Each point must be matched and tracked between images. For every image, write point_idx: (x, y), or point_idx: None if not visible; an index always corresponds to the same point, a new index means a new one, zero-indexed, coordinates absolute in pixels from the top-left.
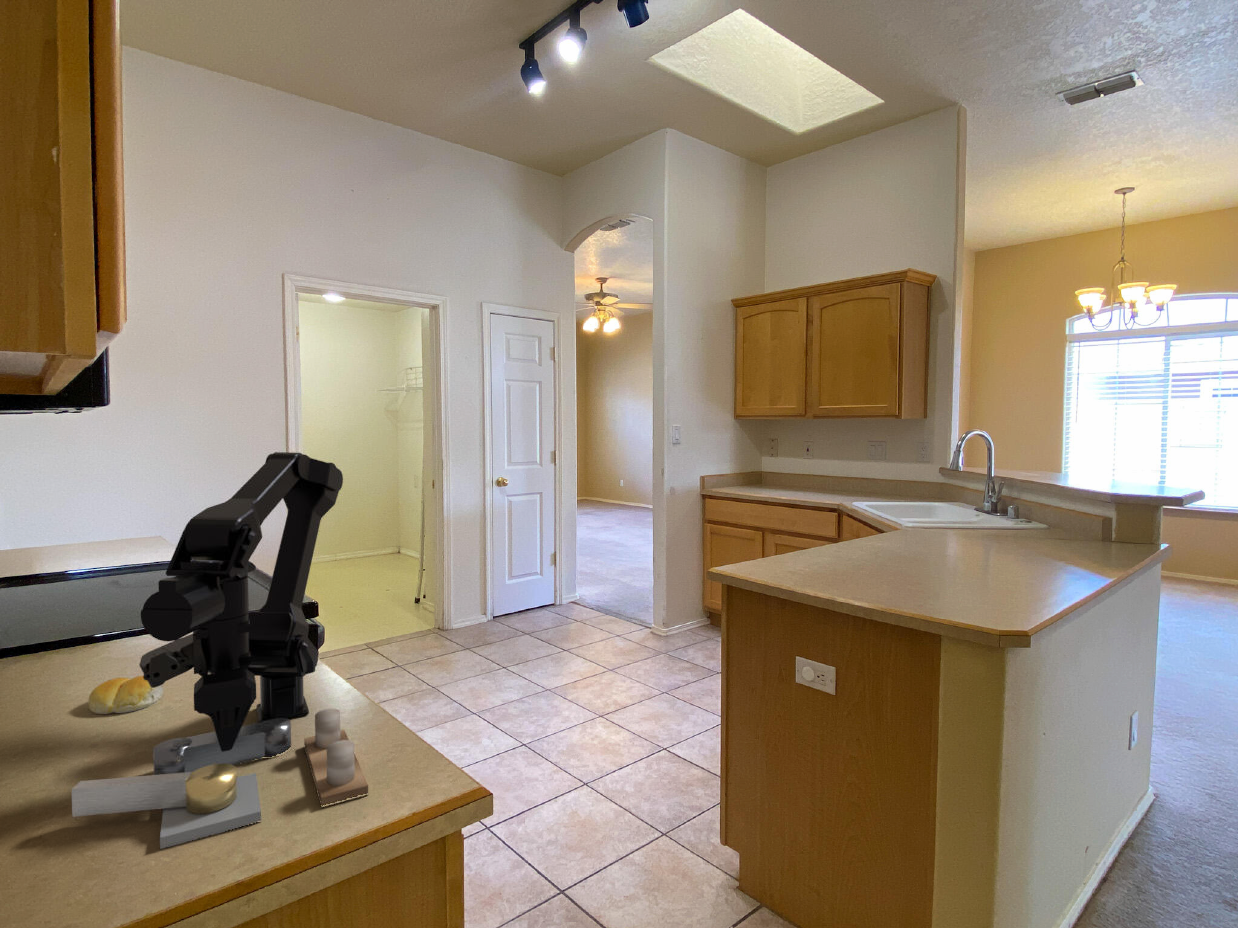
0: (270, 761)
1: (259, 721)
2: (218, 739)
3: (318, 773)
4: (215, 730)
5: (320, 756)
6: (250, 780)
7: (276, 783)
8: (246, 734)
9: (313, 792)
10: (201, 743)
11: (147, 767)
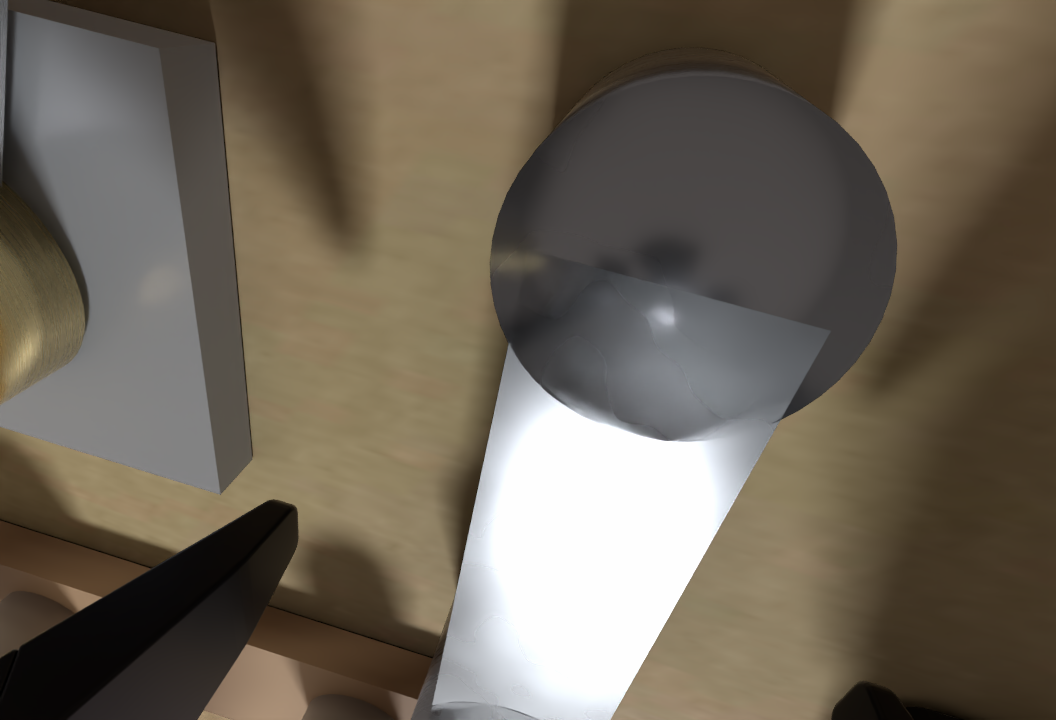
0: (427, 562)
1: (917, 718)
2: (156, 568)
3: None
4: (22, 644)
5: (256, 666)
6: (149, 453)
7: (208, 500)
8: (463, 656)
9: (89, 540)
10: (516, 463)
11: (989, 35)
